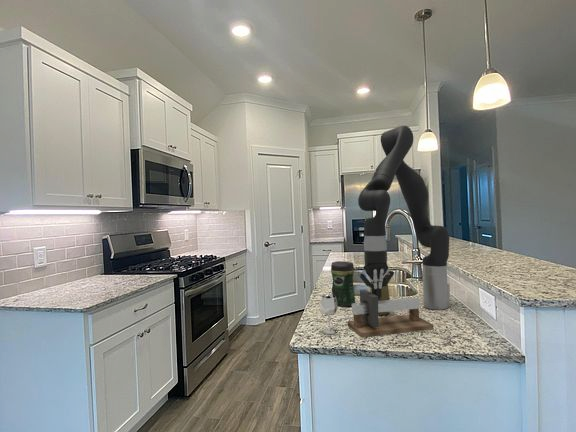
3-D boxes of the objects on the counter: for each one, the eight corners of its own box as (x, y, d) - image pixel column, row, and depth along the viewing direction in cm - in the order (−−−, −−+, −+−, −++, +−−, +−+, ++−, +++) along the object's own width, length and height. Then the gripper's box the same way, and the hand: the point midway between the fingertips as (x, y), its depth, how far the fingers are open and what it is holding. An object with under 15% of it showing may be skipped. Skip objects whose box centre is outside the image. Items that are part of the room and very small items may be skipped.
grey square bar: (414, 306, 124) (414, 296, 124) (420, 309, 121) (420, 299, 120) (351, 312, 119) (351, 302, 119) (355, 315, 116) (355, 305, 116)
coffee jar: (358, 303, 150) (356, 260, 149) (349, 308, 143) (347, 263, 143) (338, 300, 156) (337, 259, 155) (329, 304, 149) (327, 262, 149)
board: (413, 318, 129) (413, 302, 129) (433, 329, 117) (433, 311, 117) (347, 325, 123) (347, 308, 123) (361, 337, 112) (360, 319, 112)
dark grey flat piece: (365, 317, 124) (365, 289, 123) (378, 326, 114) (377, 296, 114) (360, 317, 123) (359, 290, 123) (373, 327, 114) (372, 297, 113)
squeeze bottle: (376, 308, 141) (375, 265, 141) (394, 312, 136) (393, 267, 135) (365, 313, 136) (364, 268, 135) (383, 318, 130) (382, 270, 129)
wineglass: (334, 335, 114) (332, 299, 114) (318, 332, 117) (317, 297, 117) (340, 330, 119) (339, 295, 118) (325, 327, 122) (324, 293, 122)
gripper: (387, 246, 123) (389, 294, 124) (352, 248, 121) (354, 298, 121) (398, 248, 116) (400, 300, 117) (361, 251, 113) (363, 303, 114)
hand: (376, 298), depth 119 cm, fingers closed
